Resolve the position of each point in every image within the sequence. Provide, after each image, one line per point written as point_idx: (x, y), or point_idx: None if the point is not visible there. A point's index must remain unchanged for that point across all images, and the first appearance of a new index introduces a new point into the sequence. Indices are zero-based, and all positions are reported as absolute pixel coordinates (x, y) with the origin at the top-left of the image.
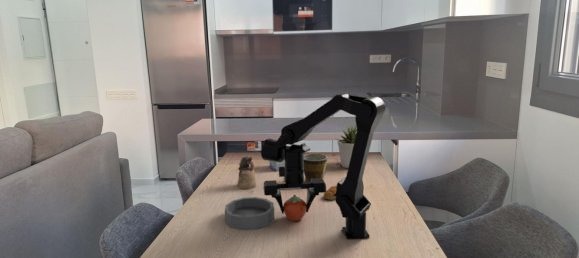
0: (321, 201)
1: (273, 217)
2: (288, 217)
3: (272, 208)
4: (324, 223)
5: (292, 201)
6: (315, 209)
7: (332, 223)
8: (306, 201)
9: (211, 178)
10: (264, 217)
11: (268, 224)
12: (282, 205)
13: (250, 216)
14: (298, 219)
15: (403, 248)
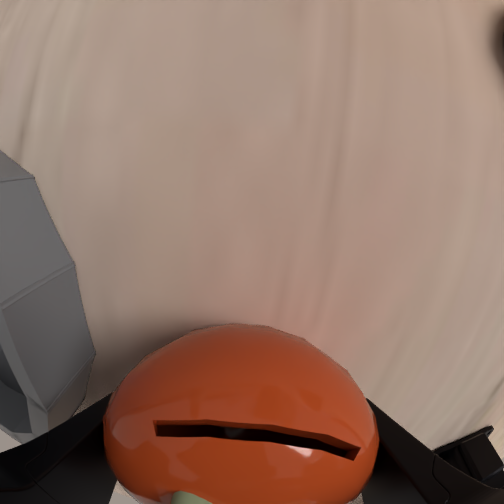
0: (497, 84)
1: (82, 372)
2: (185, 427)
3: (42, 414)
4: (407, 422)
5: None
6: (455, 219)
7: (438, 416)
8: (393, 464)
9: None
10: None
11: (82, 400)
12: (109, 490)
13: (4, 430)
14: (263, 429)
15: None
